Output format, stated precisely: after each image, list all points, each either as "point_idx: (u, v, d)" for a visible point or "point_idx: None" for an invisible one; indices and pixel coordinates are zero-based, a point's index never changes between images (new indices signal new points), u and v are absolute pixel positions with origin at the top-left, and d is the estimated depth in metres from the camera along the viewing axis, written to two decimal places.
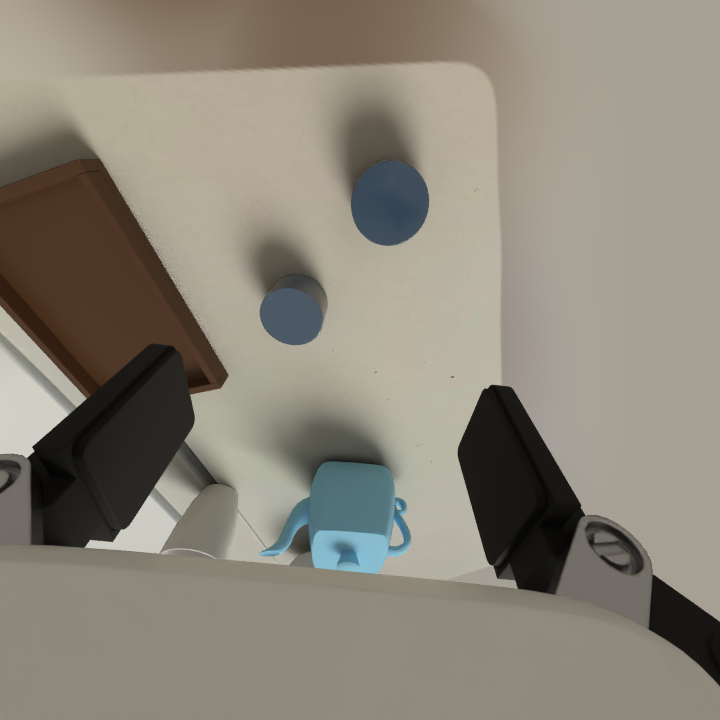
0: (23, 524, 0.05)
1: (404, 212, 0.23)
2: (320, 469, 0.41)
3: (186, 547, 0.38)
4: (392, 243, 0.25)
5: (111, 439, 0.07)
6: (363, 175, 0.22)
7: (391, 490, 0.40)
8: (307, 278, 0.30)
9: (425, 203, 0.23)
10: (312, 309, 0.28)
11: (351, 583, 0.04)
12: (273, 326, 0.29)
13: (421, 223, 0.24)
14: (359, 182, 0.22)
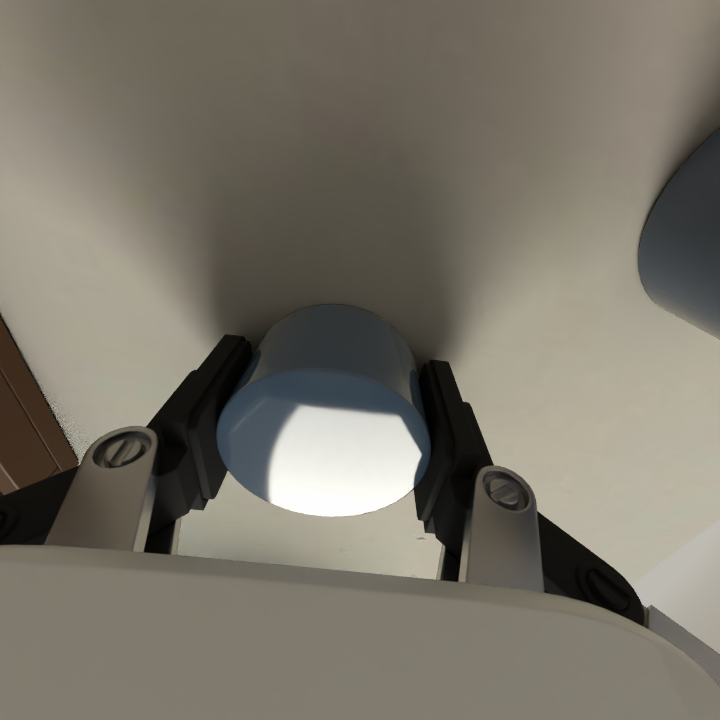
0: (139, 498, 0.06)
1: None
2: None
3: None
4: None
5: (211, 416, 0.08)
6: None
7: None
8: (398, 335, 0.10)
9: None
10: (404, 457, 0.08)
11: (351, 583, 0.04)
12: (250, 459, 0.09)
13: None
14: None
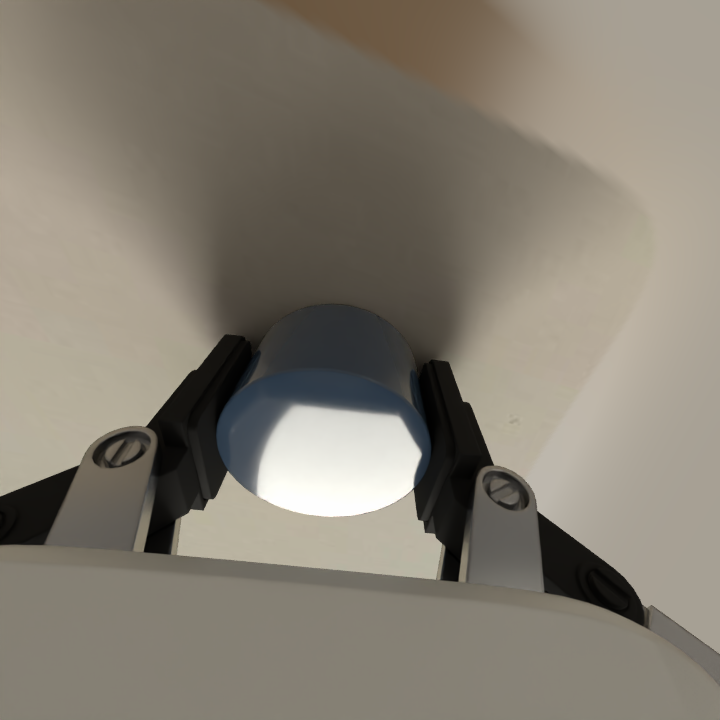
0: (139, 499, 0.06)
1: (356, 477, 0.09)
2: None
3: None
4: (306, 512, 0.10)
5: (211, 416, 0.08)
6: (268, 379, 0.07)
7: None
8: None
9: (413, 477, 0.09)
10: None
11: (351, 583, 0.04)
12: None
13: (388, 503, 0.09)
14: (252, 389, 0.07)
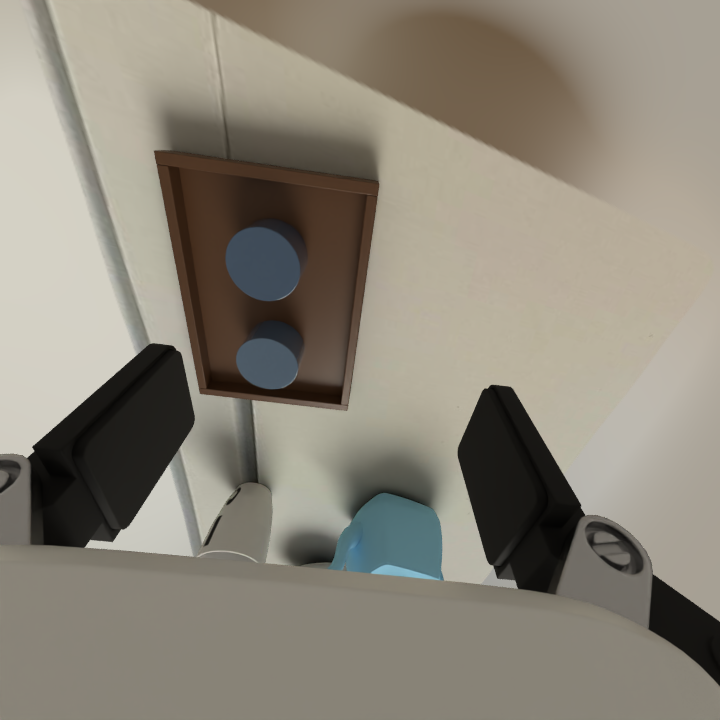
0: (23, 524, 0.05)
1: (275, 277, 0.25)
2: (382, 500, 0.43)
3: (240, 552, 0.37)
4: (259, 298, 0.26)
5: (111, 439, 0.07)
6: (242, 231, 0.23)
7: (441, 535, 0.43)
8: (293, 330, 0.31)
9: (296, 277, 0.25)
10: (290, 365, 0.29)
11: (351, 583, 0.04)
12: (245, 366, 0.29)
13: (289, 291, 0.25)
14: (237, 235, 0.23)
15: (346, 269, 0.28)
